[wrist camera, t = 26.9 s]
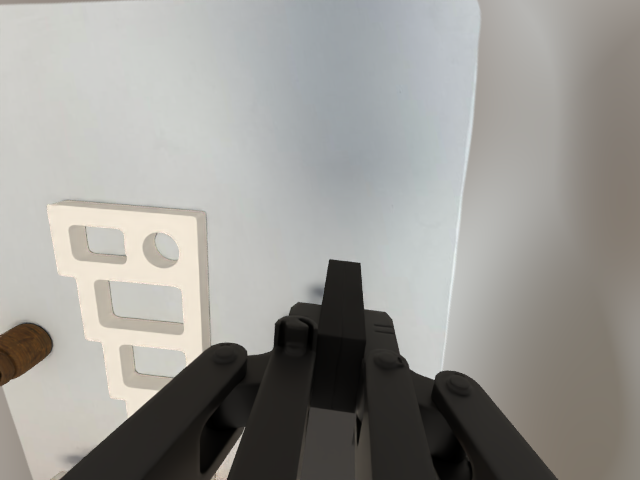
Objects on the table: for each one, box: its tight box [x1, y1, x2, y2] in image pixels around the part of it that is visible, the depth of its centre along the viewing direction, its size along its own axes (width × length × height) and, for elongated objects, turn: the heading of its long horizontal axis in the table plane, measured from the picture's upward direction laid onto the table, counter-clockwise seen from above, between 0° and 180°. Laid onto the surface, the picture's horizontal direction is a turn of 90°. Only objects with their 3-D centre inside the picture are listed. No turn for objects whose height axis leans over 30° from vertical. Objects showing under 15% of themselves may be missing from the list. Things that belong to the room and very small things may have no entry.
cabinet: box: [300, 404, 357, 480], centre depth 42 cm, size 15×12×11 cm
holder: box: [47, 200, 215, 480], centre depth 48 cm, size 45×18×3 cm, turn 177°
